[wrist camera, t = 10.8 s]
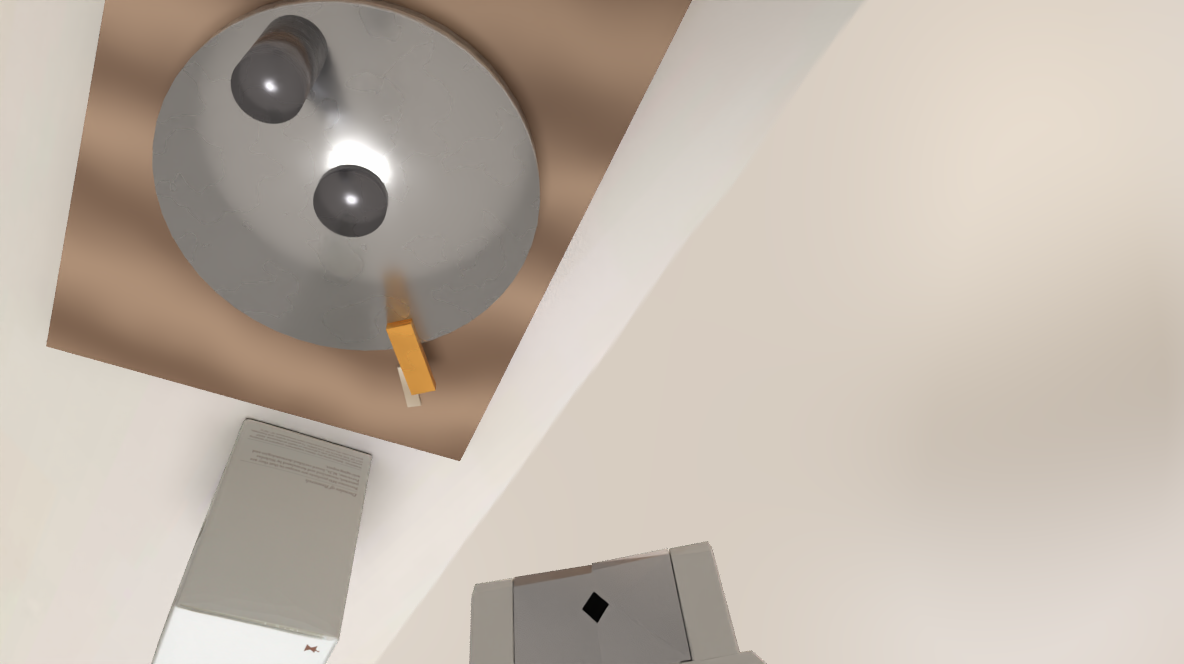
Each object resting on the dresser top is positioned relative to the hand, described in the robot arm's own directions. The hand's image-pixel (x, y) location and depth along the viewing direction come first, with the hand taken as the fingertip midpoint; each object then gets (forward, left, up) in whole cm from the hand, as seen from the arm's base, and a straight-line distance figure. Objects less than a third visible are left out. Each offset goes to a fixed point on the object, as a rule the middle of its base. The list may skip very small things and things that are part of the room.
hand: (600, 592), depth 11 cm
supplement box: (+30, -2, -31) cm, 43 cm away
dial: (+11, -3, -29) cm, 31 cm away
